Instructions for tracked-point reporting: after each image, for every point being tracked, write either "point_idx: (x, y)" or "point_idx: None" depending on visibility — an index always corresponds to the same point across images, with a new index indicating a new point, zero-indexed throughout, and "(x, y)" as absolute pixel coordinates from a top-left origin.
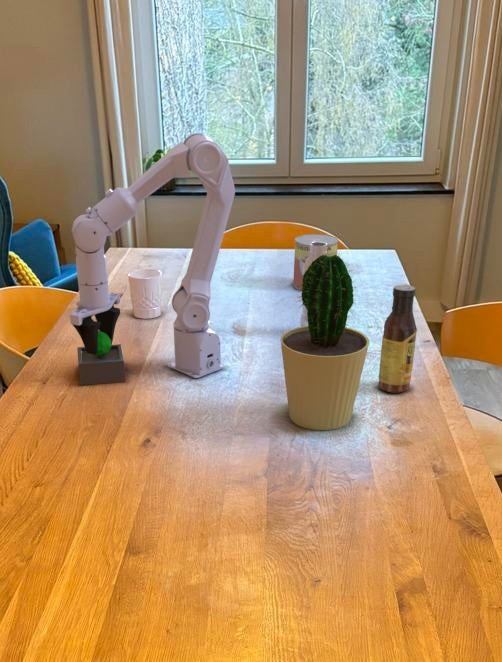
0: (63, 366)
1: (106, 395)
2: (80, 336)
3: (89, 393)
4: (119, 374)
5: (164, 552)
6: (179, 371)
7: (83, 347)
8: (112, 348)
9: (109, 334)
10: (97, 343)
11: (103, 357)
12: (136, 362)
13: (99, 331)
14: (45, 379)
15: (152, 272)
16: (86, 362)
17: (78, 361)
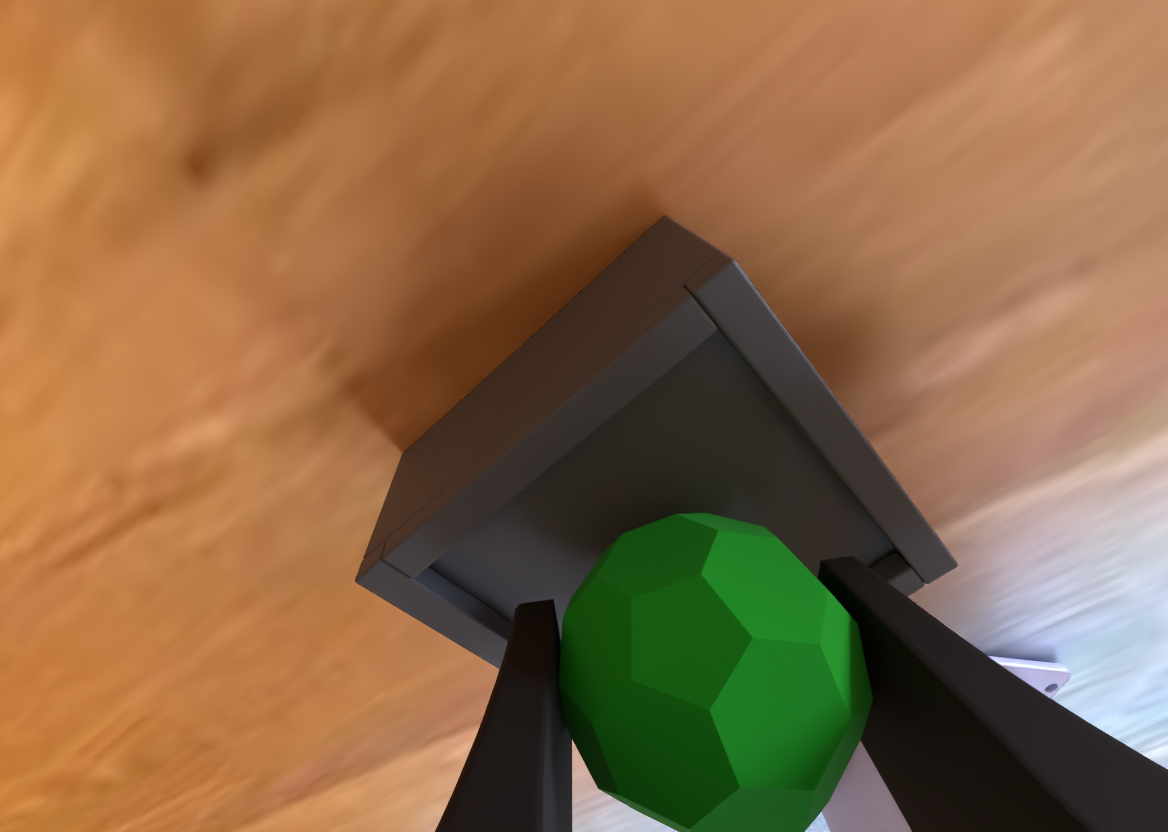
0: (626, 16)
1: (405, 644)
2: (437, 828)
3: (354, 568)
4: None
5: None
6: None
7: (755, 334)
8: (877, 525)
9: (882, 747)
10: (569, 810)
11: None
12: (916, 494)
13: (801, 812)
14: (264, 97)
15: None
16: (432, 612)
17: (398, 547)
